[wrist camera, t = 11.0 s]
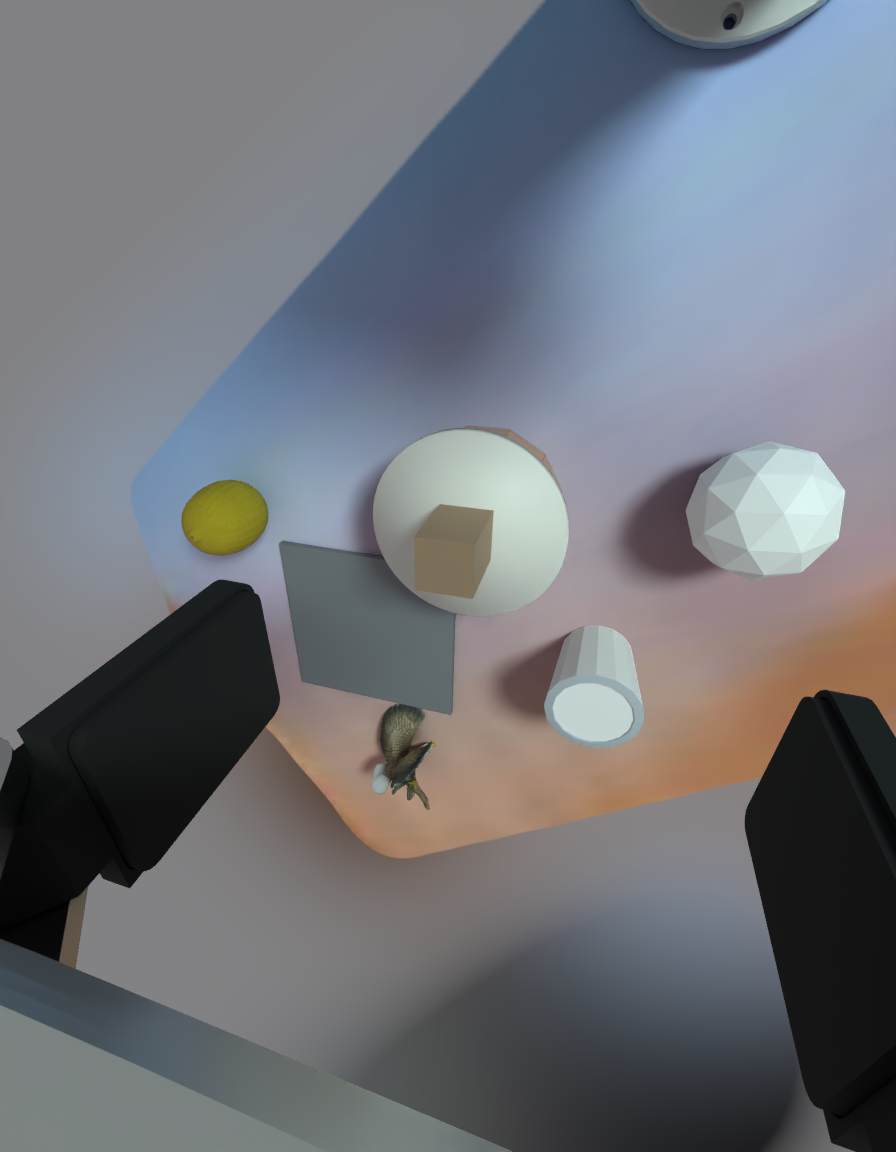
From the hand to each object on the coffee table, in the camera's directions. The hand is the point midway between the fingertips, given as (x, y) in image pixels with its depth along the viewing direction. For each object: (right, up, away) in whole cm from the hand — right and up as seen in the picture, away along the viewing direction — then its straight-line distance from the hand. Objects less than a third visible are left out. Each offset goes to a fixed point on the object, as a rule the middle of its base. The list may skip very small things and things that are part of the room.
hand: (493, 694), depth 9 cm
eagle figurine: (-4, -15, +44) cm, 47 cm away
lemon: (-17, +9, +35) cm, 40 cm away
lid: (+1, +5, +25) cm, 25 cm away
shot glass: (+11, -4, +33) cm, 35 cm away
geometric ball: (+18, +8, +24) cm, 31 cm away
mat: (-8, -3, +38) cm, 39 cm away
